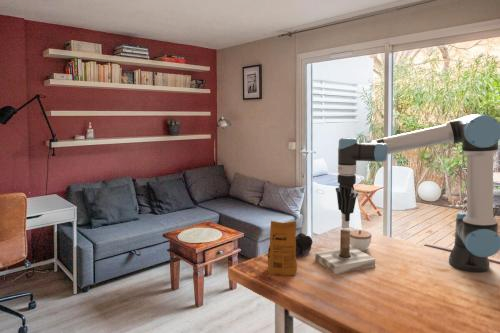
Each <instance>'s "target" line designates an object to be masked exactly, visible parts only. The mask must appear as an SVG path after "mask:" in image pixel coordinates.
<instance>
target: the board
mask: <svg viewBox="0 0 500 333" xmlns="http://www.w3.org/2000/svg"><path fill="white" fill-rule="evenodd" d="M314 254H315V255H314V256H315V258H314V260H315V261H316V262H317V263H319V264H320V265H321V266H323V267H325V268H326V269H327V270H329V271H330V272H331V273H333V274H334V275H338V274H343V273H349V272H354V271H359V270H365V269H369V268H373V267H376V258H375V257H373V256H371V255H369V254H368V253H366V252H365V251H360V250H358V249H356V248H355V247H353V246H350V254H349V255H350V257H349V258H341V257H340V248H336V249H335V248H334V249H330V250H325V251H323V250H322V251H317V252H315V253H314Z"/></svg>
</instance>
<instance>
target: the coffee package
mask: <svg viewBox="0 0 500 333" xmlns="http://www.w3.org/2000/svg"><path fill="white" fill-rule="evenodd" d="M297 226H298V225H297V221H296V220H295V221H287V222H281V221H275V220H270V231H269V232H270V233H269V234H270V235H269V236H270V238H269V246H268V249H267V250H268V251H267V273H268V274H269V275H270V276H276V275H279V276H282V277H288V276H289V277H290V276H295V275H297V272H298V262H297V261H298V260H297V257H296V236H297V235H296V234H297V233H296V231H297Z"/></svg>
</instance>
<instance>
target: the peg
mask: <svg viewBox="0 0 500 333" xmlns="http://www.w3.org/2000/svg"><path fill="white" fill-rule="evenodd" d="M350 231H351V230H350V229H349V228H344V229H343V228H341V229H340V240H339V241H340V243H339V244H340V245H339V249H340V257H341V258H349V257H350V255H349V254H350V247H351V245H350Z"/></svg>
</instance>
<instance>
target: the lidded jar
mask: <svg viewBox="0 0 500 333" xmlns="http://www.w3.org/2000/svg"><path fill="white" fill-rule="evenodd" d="M371 242H372V233H371V232H370V231H367V230H362V229H352V230H350V247H352V246H353V247H355V248H356V249H358V250H360V251H362V252H365V251H366V250H367V249H368V248H369V247H370V245H371Z"/></svg>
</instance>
